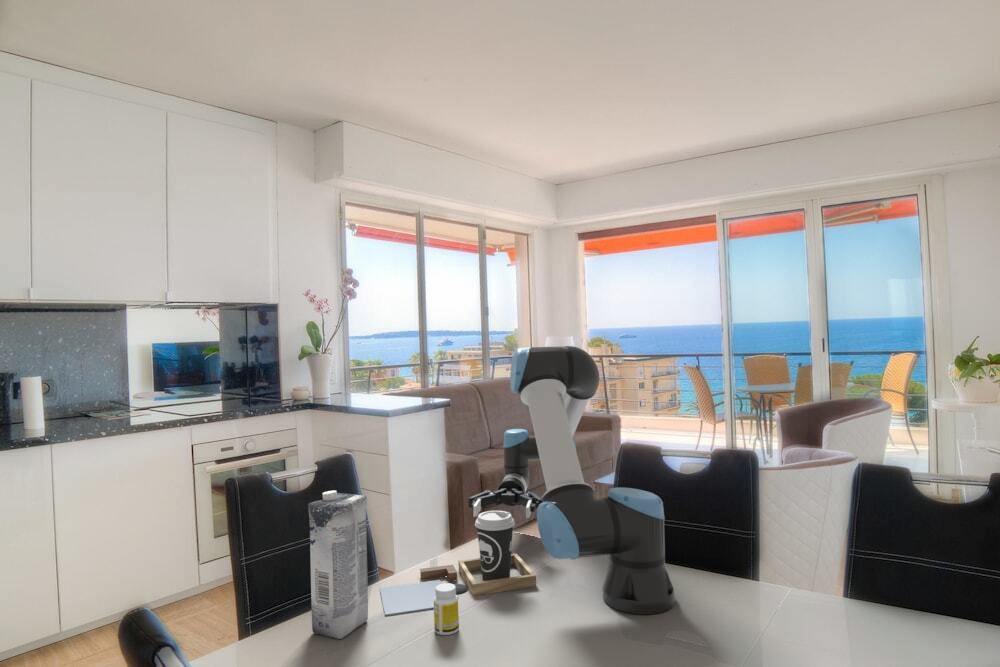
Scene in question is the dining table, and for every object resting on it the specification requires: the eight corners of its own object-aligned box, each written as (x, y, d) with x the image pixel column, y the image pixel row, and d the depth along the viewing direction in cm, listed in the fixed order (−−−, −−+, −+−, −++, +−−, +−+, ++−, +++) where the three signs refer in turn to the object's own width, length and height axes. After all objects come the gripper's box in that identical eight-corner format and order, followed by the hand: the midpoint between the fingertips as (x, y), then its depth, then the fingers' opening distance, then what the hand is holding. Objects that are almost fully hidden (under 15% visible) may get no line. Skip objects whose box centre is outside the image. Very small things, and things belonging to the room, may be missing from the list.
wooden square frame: (536, 586, 137) (536, 575, 137) (472, 595, 133) (472, 584, 133) (516, 563, 152) (516, 553, 152) (458, 571, 147) (458, 560, 148)
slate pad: (451, 606, 128) (451, 604, 128) (385, 615, 124) (385, 614, 124) (439, 581, 142) (439, 579, 142) (379, 589, 138) (379, 587, 138)
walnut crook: (457, 580, 142) (457, 572, 142) (423, 585, 140) (423, 576, 140) (453, 572, 147) (452, 564, 147) (420, 577, 144) (420, 568, 144)
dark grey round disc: (469, 592, 135) (469, 591, 135) (448, 595, 134) (448, 594, 134) (465, 583, 140) (464, 582, 140) (443, 586, 138) (443, 585, 138)
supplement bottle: (463, 626, 119) (462, 584, 119) (451, 637, 115) (450, 593, 115) (442, 622, 121) (441, 580, 121) (429, 633, 117) (428, 589, 117)
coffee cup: (516, 586, 137) (514, 521, 138) (474, 587, 138) (473, 521, 138) (516, 570, 147) (514, 509, 147) (477, 571, 147) (475, 509, 147)
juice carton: (374, 619, 123) (371, 487, 123) (341, 643, 113) (338, 500, 114) (340, 612, 127) (337, 484, 127) (304, 635, 117) (301, 496, 117)
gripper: (555, 503, 172) (550, 528, 151) (470, 501, 175) (453, 525, 154) (555, 477, 171) (549, 498, 151) (469, 476, 175) (452, 496, 154)
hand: (500, 512), depth 152 cm, fingers open, 13 cm apart
